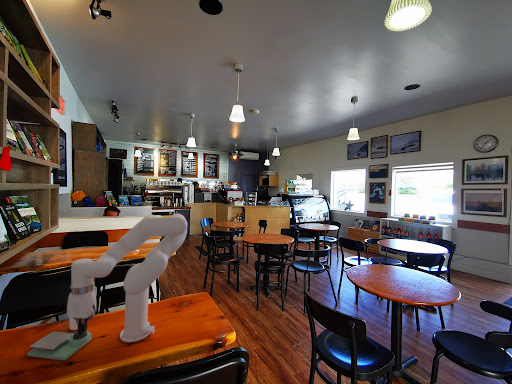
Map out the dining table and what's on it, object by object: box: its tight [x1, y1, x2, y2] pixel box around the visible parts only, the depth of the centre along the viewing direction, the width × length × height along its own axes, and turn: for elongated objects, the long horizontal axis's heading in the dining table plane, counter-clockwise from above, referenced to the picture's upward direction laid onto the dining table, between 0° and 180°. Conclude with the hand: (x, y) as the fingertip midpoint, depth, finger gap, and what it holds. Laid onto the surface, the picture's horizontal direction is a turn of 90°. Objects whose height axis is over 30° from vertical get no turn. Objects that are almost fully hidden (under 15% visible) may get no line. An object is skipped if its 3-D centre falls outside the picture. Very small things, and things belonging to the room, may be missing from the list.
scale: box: [26, 330, 93, 361], centre depth 97 cm, size 17×14×3 cm
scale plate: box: [28, 330, 74, 350], centre depth 96 cm, size 10×10×1 cm
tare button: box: [73, 329, 88, 340], centre depth 100 cm, size 4×4×2 cm
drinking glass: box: [68, 317, 78, 331], centre depth 110 cm, size 7×7×15 cm
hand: (82, 331), depth 100 cm, fingers closed
